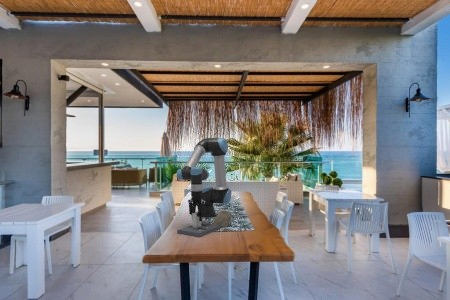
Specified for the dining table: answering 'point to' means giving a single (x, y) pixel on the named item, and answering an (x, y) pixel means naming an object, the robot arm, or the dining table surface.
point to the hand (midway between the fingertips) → (197, 225)
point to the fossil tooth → (222, 219)
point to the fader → (195, 220)
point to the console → (199, 229)
